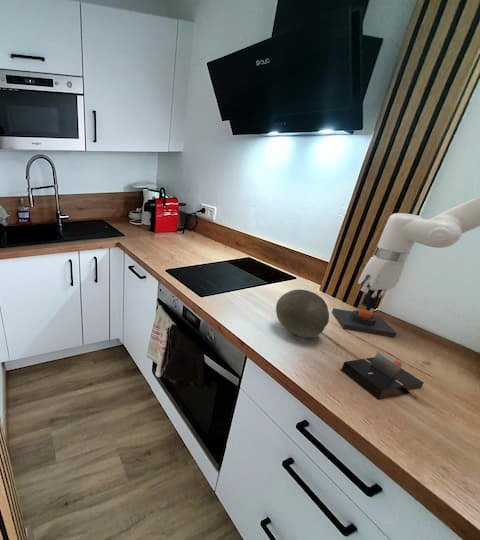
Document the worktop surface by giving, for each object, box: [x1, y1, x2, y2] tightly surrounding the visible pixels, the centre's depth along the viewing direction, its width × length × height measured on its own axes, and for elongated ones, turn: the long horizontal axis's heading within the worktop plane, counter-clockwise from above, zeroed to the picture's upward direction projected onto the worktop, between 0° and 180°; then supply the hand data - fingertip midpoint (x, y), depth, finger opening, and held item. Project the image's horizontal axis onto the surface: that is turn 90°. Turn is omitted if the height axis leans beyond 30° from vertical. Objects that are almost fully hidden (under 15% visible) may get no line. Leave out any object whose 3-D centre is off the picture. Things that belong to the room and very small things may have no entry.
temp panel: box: [340, 356, 425, 400], centre depth 74 cm, size 13×10×3 cm
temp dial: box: [371, 350, 403, 379], centre depth 73 cm, size 5×2×5 cm, turn 12°
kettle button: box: [358, 308, 374, 319], centre depth 95 cm, size 4×4×2 cm
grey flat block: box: [331, 307, 398, 339], centre depth 96 cm, size 14×11×5 cm
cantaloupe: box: [275, 288, 330, 338], centre depth 90 cm, size 14×14×15 cm
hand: (367, 306), depth 94 cm, fingers closed
